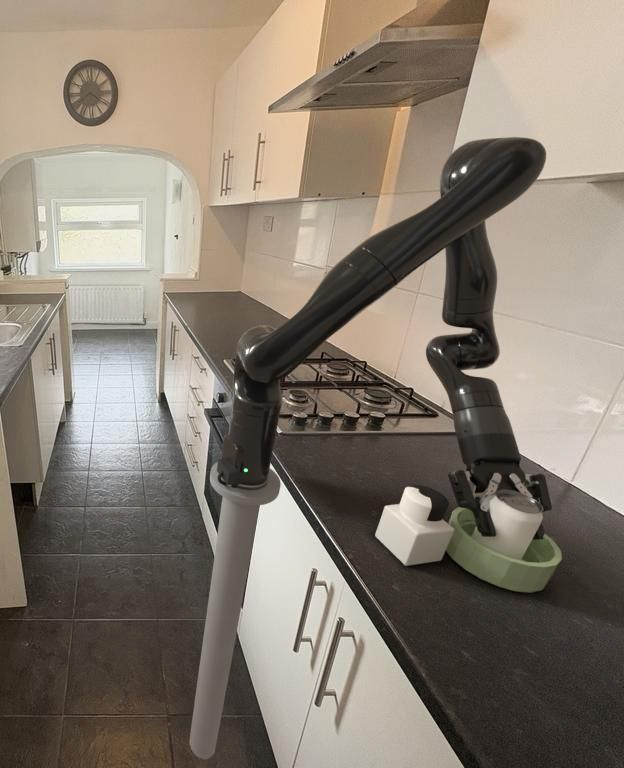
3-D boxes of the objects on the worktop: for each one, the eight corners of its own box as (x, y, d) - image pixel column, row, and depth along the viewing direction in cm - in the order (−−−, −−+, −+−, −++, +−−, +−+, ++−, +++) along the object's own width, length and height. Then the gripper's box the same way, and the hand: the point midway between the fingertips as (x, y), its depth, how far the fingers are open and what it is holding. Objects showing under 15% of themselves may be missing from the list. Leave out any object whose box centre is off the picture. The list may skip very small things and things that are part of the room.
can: (458, 540, 74) (483, 485, 69) (500, 545, 72) (528, 490, 68) (480, 569, 68) (508, 511, 63) (526, 575, 67) (558, 517, 62)
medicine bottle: (407, 531, 77) (427, 477, 72) (442, 561, 70) (466, 505, 65) (373, 536, 75) (391, 482, 71) (405, 567, 69) (427, 510, 64)
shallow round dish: (500, 602, 63) (515, 573, 61) (421, 537, 75) (431, 511, 73) (568, 586, 66) (586, 558, 63) (481, 526, 78) (493, 500, 75)
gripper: (456, 429, 69) (483, 535, 63) (548, 432, 68) (584, 540, 62) (427, 440, 76) (448, 536, 70) (510, 443, 75) (539, 541, 69)
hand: (512, 537), depth 66 cm, fingers closed on can, 6 cm apart
